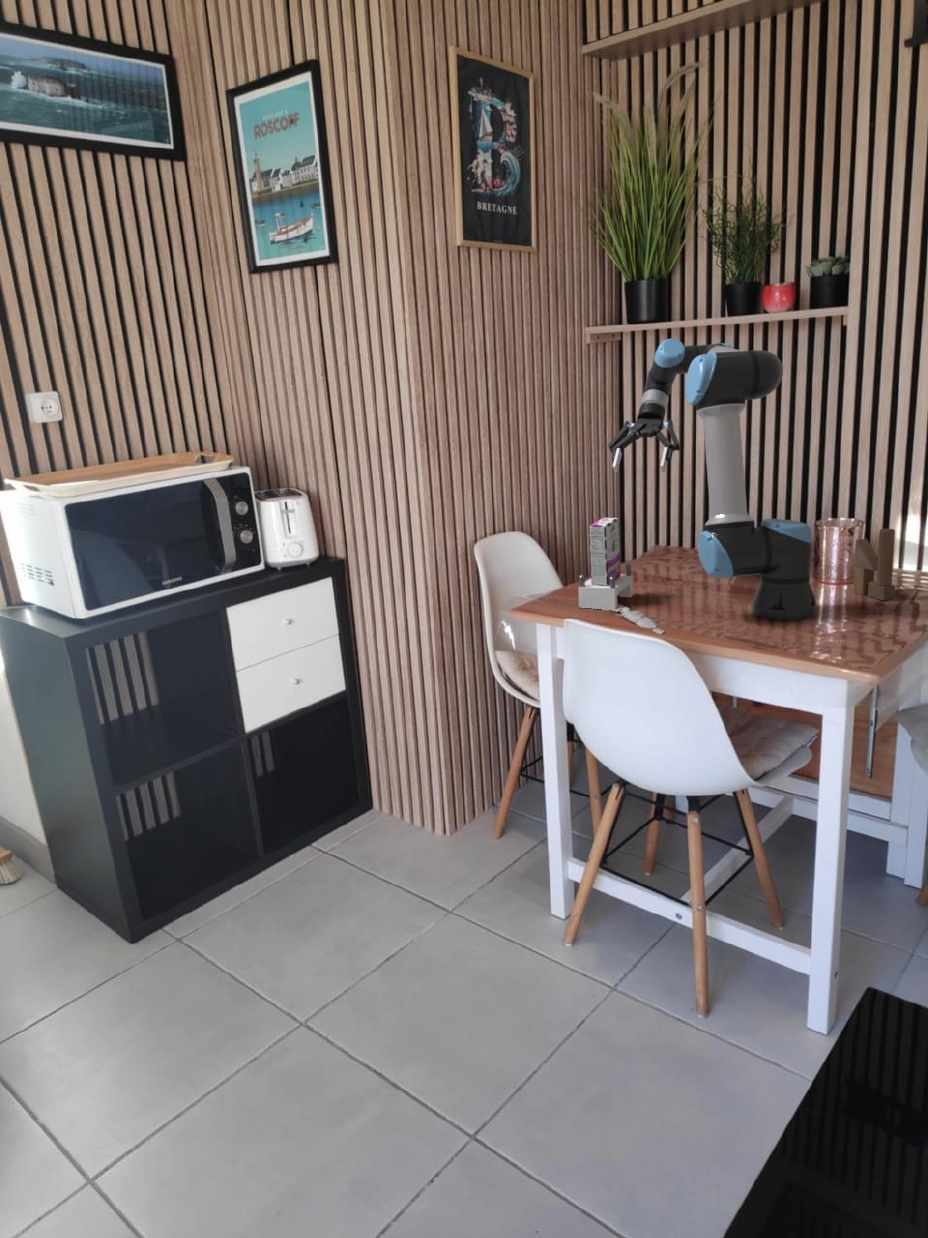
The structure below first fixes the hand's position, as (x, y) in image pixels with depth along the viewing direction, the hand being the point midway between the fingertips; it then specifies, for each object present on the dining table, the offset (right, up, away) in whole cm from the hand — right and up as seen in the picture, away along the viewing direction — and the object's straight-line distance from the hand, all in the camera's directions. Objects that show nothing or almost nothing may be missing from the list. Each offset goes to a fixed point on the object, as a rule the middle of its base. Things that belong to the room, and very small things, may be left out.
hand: (638, 469), depth 252 cm
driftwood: (-6, -41, -17) cm, 45 cm away
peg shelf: (-10, -37, -4) cm, 38 cm away
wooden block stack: (+58, -36, -16) cm, 70 cm away
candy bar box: (-10, -31, -6) cm, 33 cm away
